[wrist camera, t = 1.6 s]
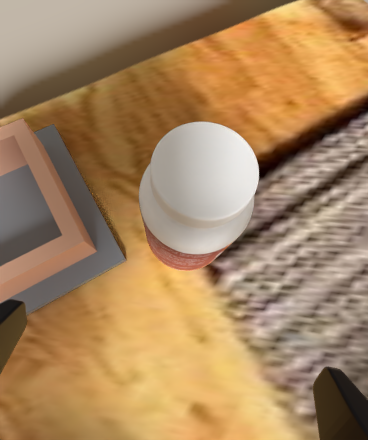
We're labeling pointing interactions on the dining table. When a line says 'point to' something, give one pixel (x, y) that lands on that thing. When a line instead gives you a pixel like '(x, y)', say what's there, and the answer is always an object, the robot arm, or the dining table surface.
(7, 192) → the bottle stand
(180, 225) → the pill bottle
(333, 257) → the dining table surface
